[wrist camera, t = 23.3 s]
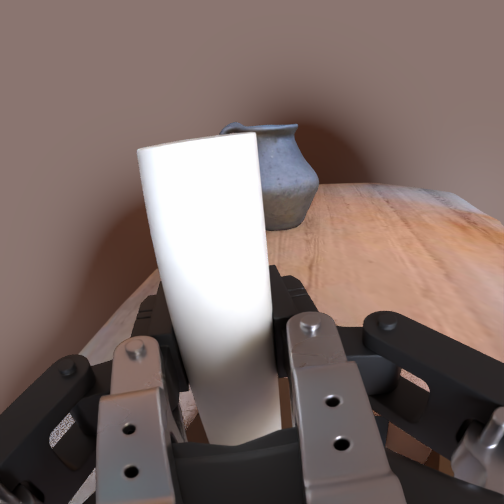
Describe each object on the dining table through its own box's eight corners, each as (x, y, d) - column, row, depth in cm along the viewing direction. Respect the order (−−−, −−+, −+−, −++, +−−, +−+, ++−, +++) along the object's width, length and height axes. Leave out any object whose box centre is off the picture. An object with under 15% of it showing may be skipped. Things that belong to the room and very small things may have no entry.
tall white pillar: (276, 566, 8) (197, 146, 3) (161, 523, 10) (-17, 192, 5) (332, 425, 15) (339, 125, 10) (239, 406, 17) (195, 137, 12)
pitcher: (329, 234, 67) (322, 114, 58) (226, 244, 68) (210, 124, 59) (313, 209, 87) (306, 116, 77) (232, 217, 88) (220, 124, 78)
